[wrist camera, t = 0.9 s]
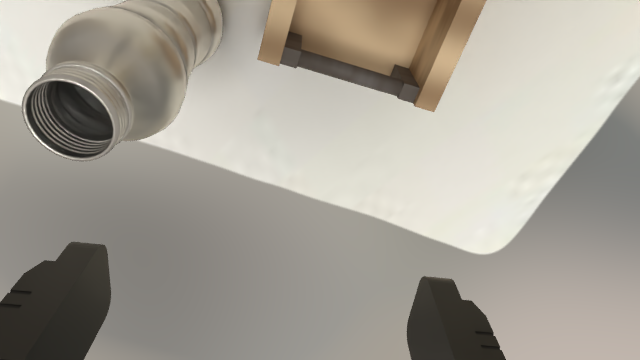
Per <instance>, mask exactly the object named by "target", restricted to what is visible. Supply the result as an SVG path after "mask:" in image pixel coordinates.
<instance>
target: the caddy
mask: <svg viewBox="0 0 640 360" xmlns="http://www.w3.org/2000/svg"><path fill="white" fill-rule="evenodd" d="M485 2H486V0H272V2H271V7H270V11H269V15H268V19H267V23H266V27H265V31H264V35H263V39H262V43H261V47H260V51H259V55H258V59H257V60H260V61H264V62H267V63H270V64H274V65H277V66H279V64H283V65H287V66H290V67H294V68H297V66H298V67H301V68H305V69H308V70H311V71H315V72H318V73H321V74H325V75H328V76H331V77H335V78H338V79H342V80H345V81H348V82H352V83H355V84H358V85H362V86H365V87H368V88H372V89H375V90H378V91H382V92H385V93H388V94H392V95H395V96H397V98H398V99H401V100H404V101H408V102H411V103H413V104H414V106H415V107H419V108H422V109H425V110H429V111H432V112H434V111H435V109H436V107H437V105H438V103H439V100H440V98H441V96H442V94H443V92H444V90H445V88H446V86H447V83H448V81H449V79H450V77H451V75H452V73H453V71H454V68H455V66H456V64H457V62H458V60H459V58H460V56H461V54H462V51H463V49H464V47H465V45H466V43H467V41H468V39H469V36H470V34H471V32H472V30H473V28H474V26H475V24H476V21H477V19H478V17H479V15H480V13H481V11H482V9H483V7H484V4H485Z"/></svg>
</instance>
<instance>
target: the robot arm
mask: <svg viewBox="0 0 640 360" xmlns="http://www.w3.org/2000/svg"><path fill="white" fill-rule="evenodd" d="M110 300H111V287H110V277H109V266H108V254H107V249H106V247H105V245H101V244H90V243H80V242H71V243H69V244H68V246H67V247H66V248H65V249H64V251H63V252H62V253H61V255H60V256H59V257H58V259H57V260H56V261H43V262H41V263H40V264H38V265H37V266H35V267H34V268H32V269H31V270H29V271H27V272H26V273H24V274H23V276H22V277H21V278H20V279H19V280H18V282H17V283H16V284H15V285H14V286H13V288H12V289H11V292H10V293H8V294H7V295H6V296H5V297H4V299H3V300H2V301H1V302H0V360H84V358H85V356H86V354H87V352H88V350H89V349H90V347H91V345H92V343H93V341H94V339H95V337H96V335H97V333H98V331H99V329H100V328H101V326H102V324H103V322H104V320H105V318H106V316H107V313H108V310H109V306H110ZM407 342H408V347H409V351H410V355H411V359H412V360H506V359H505V357H504V354H503V352H502V350H500V346H499V344H498V341H497V339H496V337H495V336H493V330H492V328H491V326H490V324H489V322H488V320H487V317H486V316H485V315H484V314H483V312H481V310H480V309H479V308H478V307H477V306H476V305H475V304H474V303H473V302H472V301H469V300H462V299H461V297H460V294H459V292H458V290H457V287H456V285H455V282H454V281H453V280H452V279H446V278H436V277H426V276H424V277H422V278H421V280H420V283H419V286H418V289H417V293H416V296H415V299H414V302H413V306H412V309H411V312H410V316H409V319H408V324H407Z"/></svg>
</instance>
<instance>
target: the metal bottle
mask: <svg viewBox="0 0 640 360" xmlns="http://www.w3.org/2000/svg"><path fill="white" fill-rule="evenodd" d="M222 32H223V20H222V13H221V9H220V6H219V4H218V1H217V0H126V1H125V2H123V3H120V4H118V5H114V6H108V7H101V8H95V9H92V10H88V11H85V12H82V13H80V14H77V15H75V16H73V17H71V18H70V19H68V20H67V21H65V22H64V23H63V24H62V26H61V27H60V28H59V29H58V30H57V32H56V34H55V36H54V38H53V40H52V42H51V44H50V47H49V49H48V54H47V58H46V72H45V73H44V74H43V75H42V77H41V78H40V79H38V80H37V81H35V82H34V83H33V84H32V85H31V86H30V87H29V88H28V90H27V91H26V93H25V95H24V97H23V102H22V113H23V117H24V121H25V123H26V125H27V127H28V129H29V131H30V132H31V134H32V135H33V136H34V137H35V138H36V140H37V141H38V142H39V143H40V144H41V145H43V146H44V147H45V148H47V149H48V150H49V151H51V152H53V153H54V154H56V155H59V156H61V157H63V158H66V159H70V160H75V161H91V160H94V159H98V158H100V157H102V156H104V155H105V154H107V153H108V152H109V151H110V150H112V149H113V147H114V146H115V145H117V144H118V143H120V142H121V141H135V140H140V139H144V138H147V137H149V136H152V135H154V134H156V133H158V132H160V131H162V130H163V129H165V128H166V127H167V126H168V125H170V124H171V123H172V122H173V120H174V119H175V118H176V116H177V115H178V113H179V111H180V108H181V106H182V103H183V101H184V98H185V94H186V89H187V84H188V79H189V77H190V74H191V72H192V70H193V69H194V68H195V67H197V66H198V65H200V64H202V63H203V62H205V61H206V60H207V59H209V58H210V57H211V56H212V55H213V54H214V52H215V51H216V50H217V48H218V46H219V44H220V41H221V38H222Z"/></svg>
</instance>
